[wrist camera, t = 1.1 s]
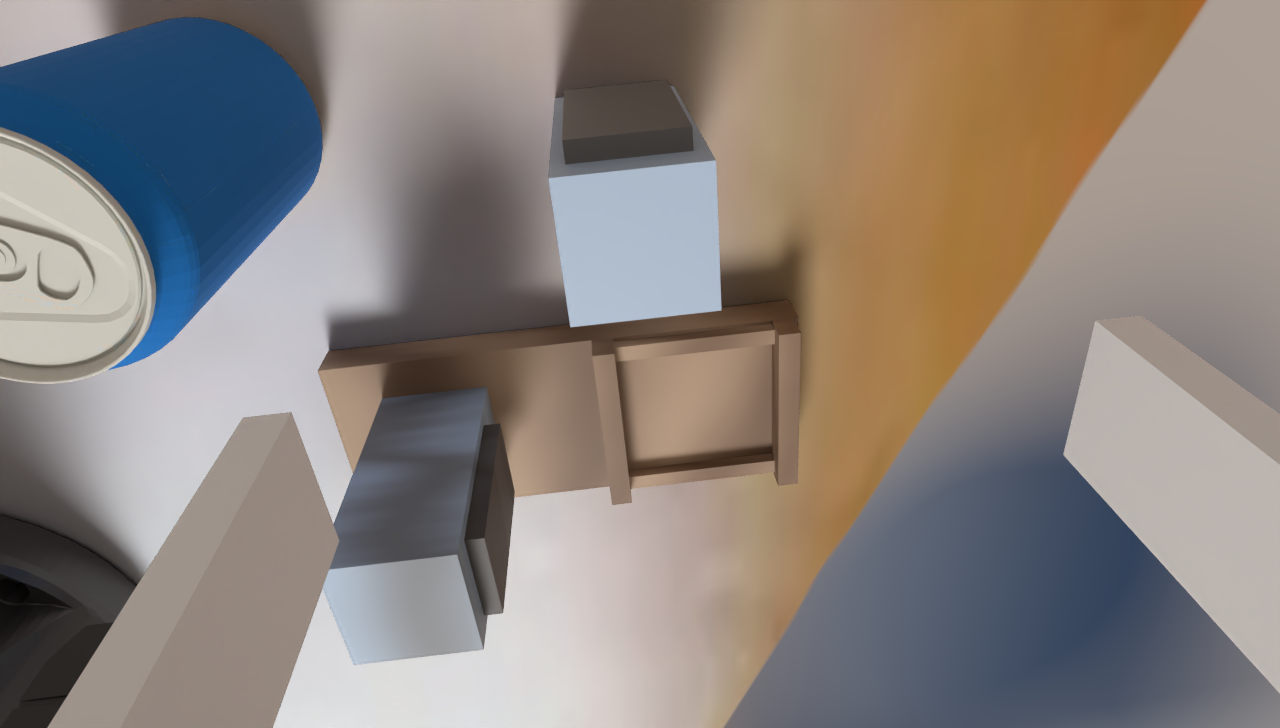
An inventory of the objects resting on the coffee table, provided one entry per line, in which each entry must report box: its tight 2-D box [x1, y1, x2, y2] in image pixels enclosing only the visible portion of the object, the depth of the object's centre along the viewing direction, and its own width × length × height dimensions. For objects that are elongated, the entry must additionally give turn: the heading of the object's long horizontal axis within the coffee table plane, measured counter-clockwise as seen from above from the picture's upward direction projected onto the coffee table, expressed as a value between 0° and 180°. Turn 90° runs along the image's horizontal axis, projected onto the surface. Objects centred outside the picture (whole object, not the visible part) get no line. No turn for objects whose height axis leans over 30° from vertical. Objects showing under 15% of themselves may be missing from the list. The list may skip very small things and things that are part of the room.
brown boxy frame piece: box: [318, 300, 801, 665], centre depth 28 cm, size 18×7×10 cm, turn 95°
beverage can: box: [0, 17, 323, 384], centre depth 21 cm, size 6×6×12 cm
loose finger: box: [548, 80, 722, 327], centre depth 23 cm, size 5×4×9 cm
